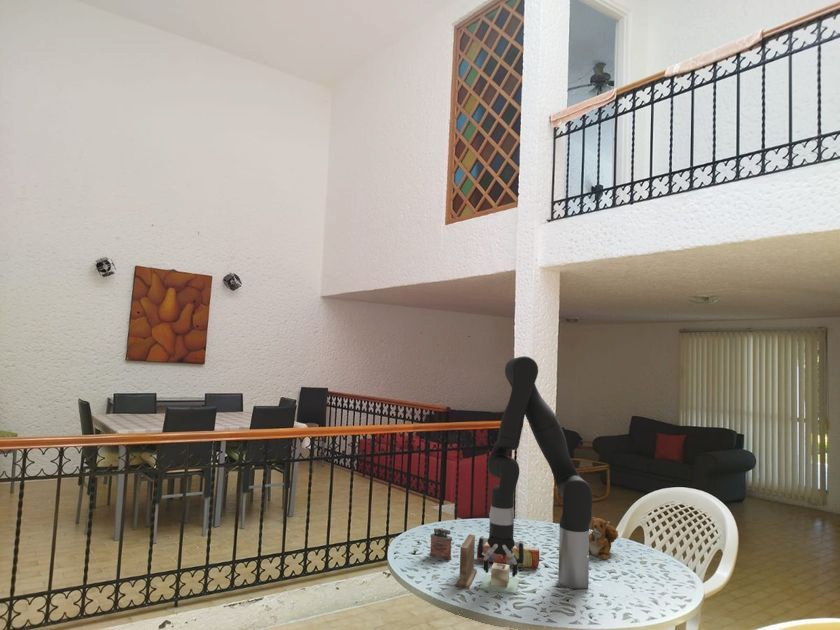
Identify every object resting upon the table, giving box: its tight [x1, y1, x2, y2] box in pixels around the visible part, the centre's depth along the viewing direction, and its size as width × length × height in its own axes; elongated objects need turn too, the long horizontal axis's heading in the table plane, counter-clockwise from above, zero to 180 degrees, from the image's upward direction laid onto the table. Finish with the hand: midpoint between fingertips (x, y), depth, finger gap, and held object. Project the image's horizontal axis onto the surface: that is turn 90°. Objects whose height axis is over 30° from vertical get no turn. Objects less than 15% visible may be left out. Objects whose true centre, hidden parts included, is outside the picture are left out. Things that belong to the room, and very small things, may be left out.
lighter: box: [429, 527, 453, 562], centre depth 197 cm, size 8×3×10 cm, turn 62°
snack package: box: [476, 542, 540, 569], centre depth 194 cm, size 21×7×7 cm, turn 75°
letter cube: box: [490, 563, 511, 587], centre depth 175 cm, size 5×5×5 cm
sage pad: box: [479, 573, 520, 595], centre depth 175 cm, size 11×11×1 cm
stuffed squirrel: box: [589, 516, 619, 561], centre depth 208 cm, size 10×14×13 cm
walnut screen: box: [455, 533, 478, 590], centre depth 178 cm, size 4×14×12 cm, turn 164°
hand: (500, 573), depth 175 cm, fingers open, 8 cm apart
